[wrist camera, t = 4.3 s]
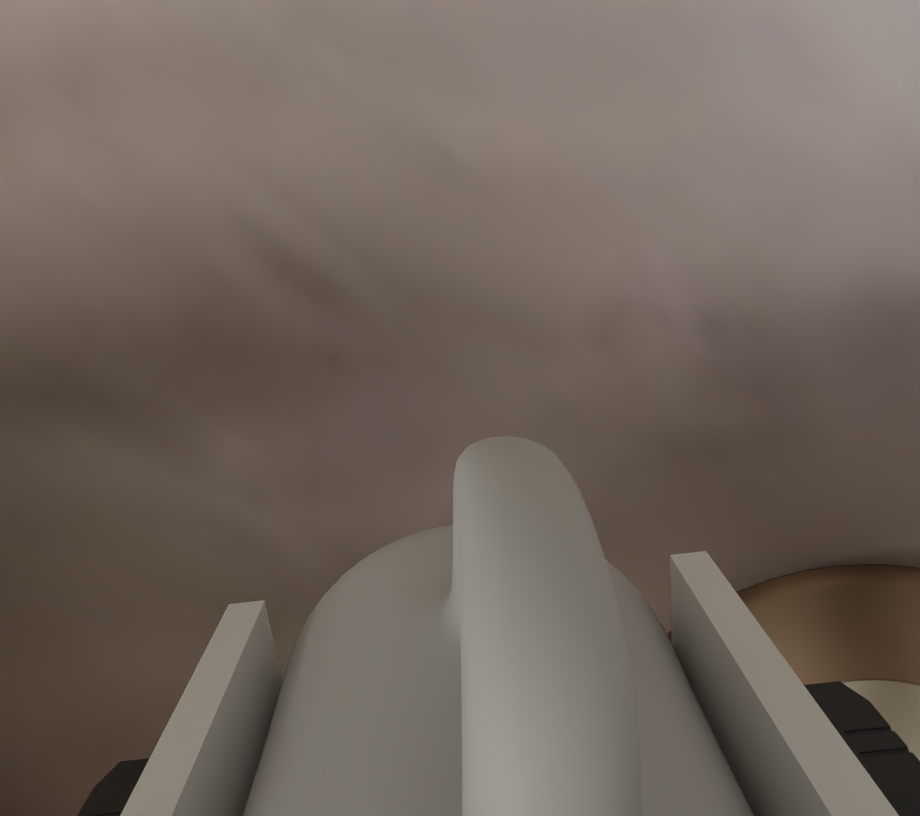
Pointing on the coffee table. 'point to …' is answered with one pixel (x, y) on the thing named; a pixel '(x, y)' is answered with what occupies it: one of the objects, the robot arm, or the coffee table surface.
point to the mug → (491, 673)
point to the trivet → (850, 634)
